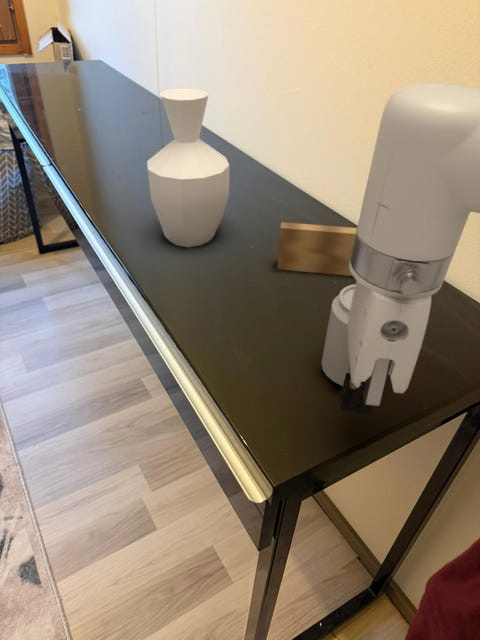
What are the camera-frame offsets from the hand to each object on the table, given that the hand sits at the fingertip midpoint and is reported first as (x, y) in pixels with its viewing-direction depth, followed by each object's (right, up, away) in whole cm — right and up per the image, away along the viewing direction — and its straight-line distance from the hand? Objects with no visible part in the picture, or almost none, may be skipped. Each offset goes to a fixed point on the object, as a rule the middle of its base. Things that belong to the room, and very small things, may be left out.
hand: (354, 405), depth 48 cm
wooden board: (+2, +18, +30) cm, 35 cm away
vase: (-21, +25, +39) cm, 51 cm away
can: (+2, +2, +11) cm, 12 cm away
